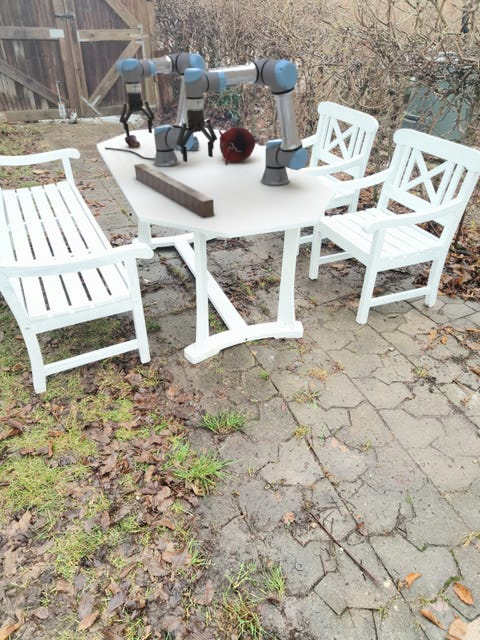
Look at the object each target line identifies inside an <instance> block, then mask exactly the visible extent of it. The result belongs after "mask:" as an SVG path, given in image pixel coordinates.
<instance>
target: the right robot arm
mask: <svg viewBox="0 0 480 640" xmlns="http://www.w3.org/2000/svg"><path fill="white" fill-rule="evenodd" d="M298 79H299V71H298V68H297V66H296V65H295V63H293V61H290V60H287V59H275V58H264V59H259V60H253V61H248V62H246V64H240V65H231V66H222V67H212V68H205V69H202V70H201V69H198V68H190V69H186V70H185V72H184V82H185V93H186V108H187V109H188V110H187V119H188V122H187V123H183V122H182V123H181V130H180V133H179V136H178V139H177V143H176V145H178V146H180V147H181V150H180V154H181V155H182V162H185V163H188V150H187V147H185V145H186V143H187V141H188V140H189V138H190V136H191V134H193V135H194V133H197V132H202V134H203V135H204V137H205V138H206V139H207V140H208V141H207V155H208V157H209V158H213V157H214V155H213V153H214V151H213V150H214V148H215V145H214V143H215V142H216V141H217V140H218V137H217V135H216V133H215V130H214V128H213V125H212V123H211V119H209V118H205V110H204V94H206V93H215V92H217V93H218V92H223V91H224V90H226V88H227V86H229V85H237V84H245V83H247V84H249V85H262V86H267V87H269V88H270V93H271V95H272V96H273V97H274V100H275V106H276V111H277V118H278V123H279V124H278V125H279V129H280V136H281V138H279V139H278V138H277V139H270V140H268V141H266V144H265V167H264V171H263V173H262V177H261V183H262V184H264V185H267V186H284V185H287V184H288V183H289V176H288V172H287V169H290V170H292V171H293V170H294V171H300V170H302V169H303V168H304V167H305V166H306V164H307V162H308V159H309V152H308V150H307V149H306V148H304V147H303V142H302V140H301V139H300V138H299V133H298V125H297V118H296V110H295V103H294V96H293V92H294V90H295V88H296V87H295V86H296V85H297V82H298ZM187 126H188V127H189V128H188V130H187V133H186V134H185V132H186V128H187ZM205 126H206V127H205ZM206 128H207V129H206ZM190 130H191V131H190ZM207 130H208V131H207ZM193 132H194V133H193ZM184 135H185V136H184Z"/></svg>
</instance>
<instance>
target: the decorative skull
mask: <svg viewBox="0 0 480 640" xmlns="http://www.w3.org/2000/svg"><path fill="white" fill-rule="evenodd" d="M218 133H219V135H220V136H219V150H220V153H221V155H222V157H223V160H225V165H226V166H227V165H228V163H229V162H237V163H238V162H239V163H240V162H243V161H246V160H247V159H249V157H251V155H252V153H253V152H254V149H255V147H256V142H257V141H256V137H255V136H254V134H252V133H251V132H250V131H249V130H248V129H247V128H245V127H241V126H234V127H231V128H229V129H227V130H225V131H224V132H222V131H221V130H220V129H218Z"/></svg>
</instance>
